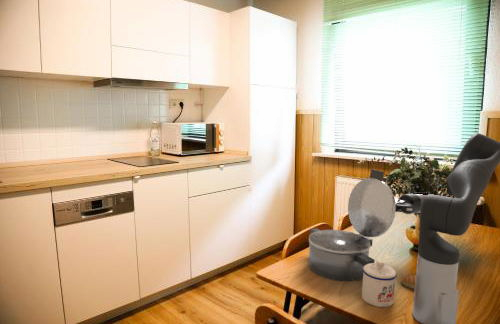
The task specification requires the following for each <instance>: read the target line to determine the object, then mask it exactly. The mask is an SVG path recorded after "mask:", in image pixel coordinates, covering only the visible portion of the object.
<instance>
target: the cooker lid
mask: <svg viewBox="0 0 500 324" xmlns="http://www.w3.org/2000/svg"><path fill="white" fill-rule="evenodd" d="M384 175H385V171H381V170H377V169H374V168H372V169H371V170H370V175H369V177H367V178H363V179H362V180H360V181H358V182H357V183H356V185H354V187H353V189H352V190H351V192H350V194H349V198H348V203H347V212H348V217H349V221H350V224H351V225H352V227H353V228H354V231H356V232H357V234H361V235H363V236H365V237H368V238H377V237H381V236H383V235H384V234H386V233H387V232H388V231H389V229H390V228H391V227H392V225H393V223H394V219H395V217H396V212H395V210H396V205H395V199H396V198H395V195H394V194H393V191H392V189H391V187H390V186H389V185H388V184H387V183H386V182H385V181H384Z"/></svg>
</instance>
